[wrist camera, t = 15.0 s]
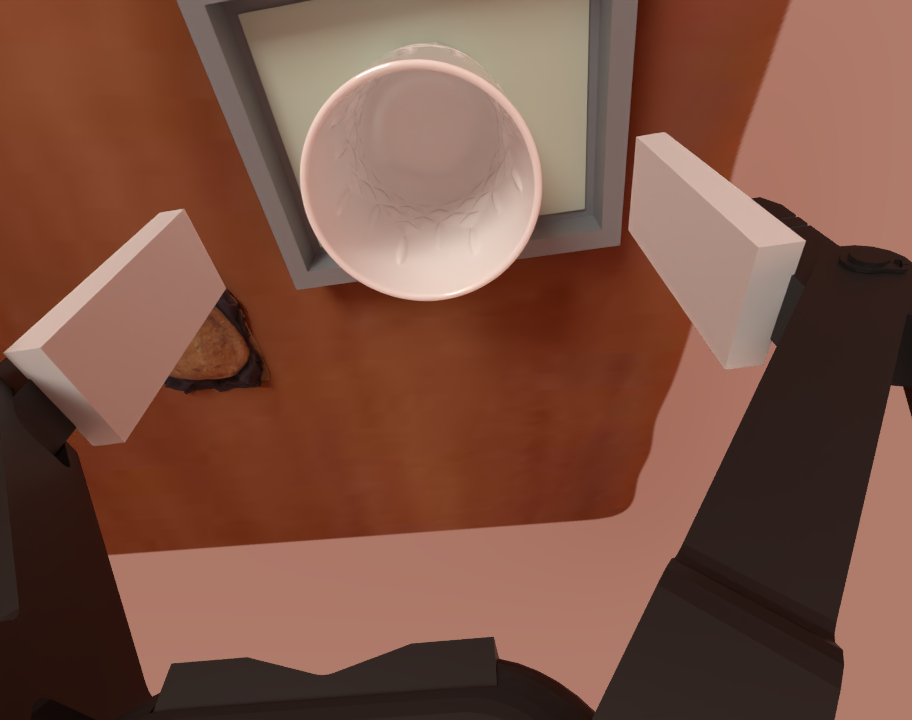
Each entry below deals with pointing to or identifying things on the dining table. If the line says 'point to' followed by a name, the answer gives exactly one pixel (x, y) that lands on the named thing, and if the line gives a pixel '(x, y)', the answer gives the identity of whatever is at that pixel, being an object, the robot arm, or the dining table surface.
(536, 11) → the gray divided tray
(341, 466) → the dining table surface
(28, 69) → the dining table surface
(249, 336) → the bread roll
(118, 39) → the dining table surface
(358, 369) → the dining table surface
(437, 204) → the white cup
